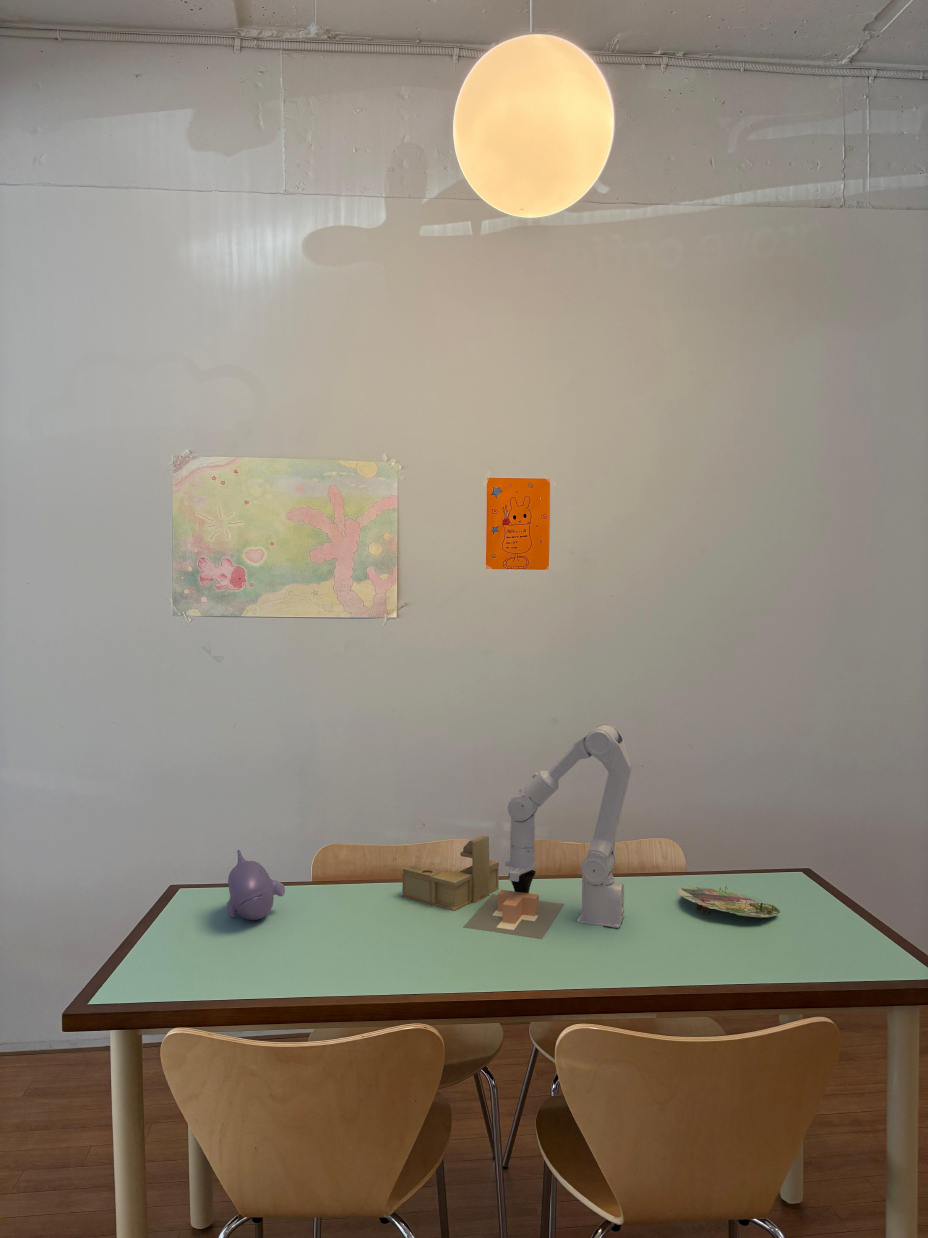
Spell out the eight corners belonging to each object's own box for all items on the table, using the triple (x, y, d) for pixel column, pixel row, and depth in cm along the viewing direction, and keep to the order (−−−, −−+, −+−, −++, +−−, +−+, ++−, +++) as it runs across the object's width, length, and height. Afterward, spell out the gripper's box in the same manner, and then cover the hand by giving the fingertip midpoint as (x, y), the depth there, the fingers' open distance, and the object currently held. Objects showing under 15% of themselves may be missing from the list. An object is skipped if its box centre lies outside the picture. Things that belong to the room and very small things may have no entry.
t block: (538, 911, 193) (538, 894, 193) (528, 925, 184) (528, 908, 184) (501, 906, 196) (501, 889, 196) (489, 920, 187) (489, 902, 187)
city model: (804, 925, 193) (806, 898, 193) (741, 934, 180) (743, 906, 180) (717, 895, 214) (718, 871, 214) (654, 902, 200) (656, 876, 201)
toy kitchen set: (447, 878, 217) (448, 820, 217) (501, 892, 207) (501, 831, 207) (401, 898, 202) (402, 836, 202) (456, 914, 192) (457, 849, 192)
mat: (564, 905, 198) (564, 904, 198) (542, 940, 177) (542, 939, 177) (492, 895, 204) (492, 894, 204) (462, 928, 183) (462, 927, 183)
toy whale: (229, 940, 177) (203, 870, 178) (237, 916, 201) (214, 854, 202) (290, 913, 180) (264, 844, 181) (290, 893, 204) (267, 832, 205)
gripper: (514, 835, 203) (513, 890, 204) (497, 851, 190) (496, 910, 190) (542, 838, 201) (541, 894, 201) (526, 855, 187) (526, 915, 188)
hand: (521, 902), depth 195 cm, fingers closed
